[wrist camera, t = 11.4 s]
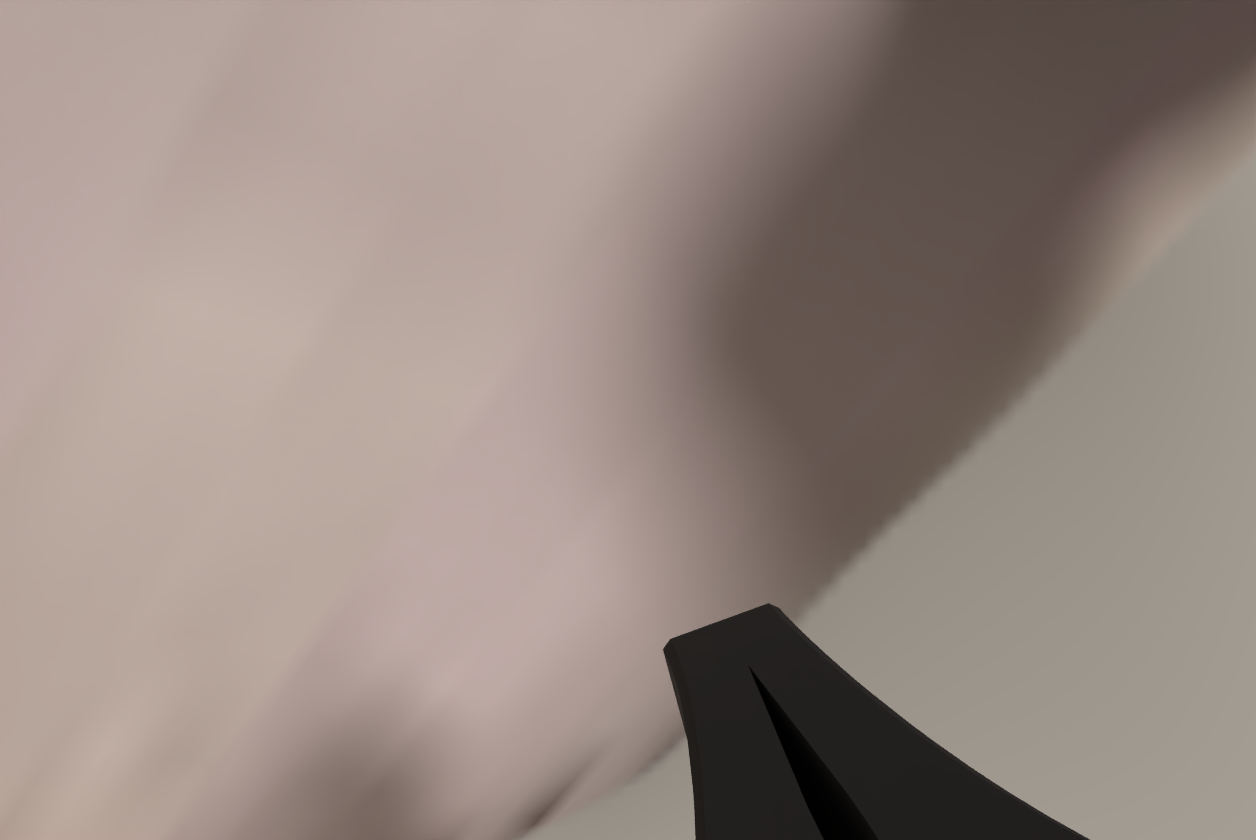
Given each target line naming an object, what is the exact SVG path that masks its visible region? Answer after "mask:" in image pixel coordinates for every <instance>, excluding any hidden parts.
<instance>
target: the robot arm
mask: <svg viewBox="0 0 1256 840" xmlns="http://www.w3.org/2000/svg"><path fill="white" fill-rule="evenodd" d="M663 651H664V655H665V659H666V662H667V666H668V670H669V673H670V677H671V681H672V684H673V688H674V692H675V695H676V699H677V703H678V707H679V710H680V714H681V718H682V721H683V725H684V729H685V732H686V736H687V740H688V748H689V757H690V765H691V774H692V784H693V794H694V809H695V835H696V840H1089V839H1088V838H1086V837H1084V836H1082V835H1081V834H1078V833H1077V832H1075V831H1074V830H1072V829H1070V828H1068V827H1066V826H1065V825H1063V824H1061V823H1059V822H1057V821H1056V820H1054V819H1052V818H1050V817H1049V816H1047V815H1045V814H1044V813H1042V812H1040V811H1039V810H1037V809H1035V808H1034V807H1032V806H1031V805H1029V804H1027V803H1026V802H1024V801H1022V800H1020V799H1019V798H1017V797H1016V796H1014V795H1012V794H1011V793H1009V792H1007V791H1006V790H1004V789H1003V788H1001V787H1000V786H998V785H997V784H995V783H994V782H992V781H990V780H989V779H987V778H986V777H984V776H983V775H981V774H980V773H978V772H977V771H975V770H974V769H972V768H971V767H969V766H968V765H967V764H965V763H964V762H962V761H961V760H960V759H958V758H957V757H955V756H954V755H952V754H951V753H949V752H948V751H947V750H945V749H944V748H942V747H941V746H940V745H938V744H937V743H935V742H934V741H933V740H931V739H930V738H928V737H927V736H926V735H924V734H923V733H922V732H921V731H919V730H918V729H916V728H915V727H914V726H912V725H911V724H910V723H909V722H907V721H906V720H905V719H903V718H902V717H901V716H899V715H898V714H897V713H896V712H895V711H893V710H892V709H891V708H889V707H888V706H887V705H886V704H884V703H883V702H882V701H881V700H879V699H878V698H877V697H876V696H874V695H873V694H872V693H871V692H869V691H868V690H867V689H866V688H865V687H863V686H862V685H861V684H860V683H859V682H857V681H856V680H855V679H854V678H852V677H851V676H850V675H849V674H848V673H847V672H846V671H844V670H843V669H842V668H841V667H840V666H839V665H838V664H837V663H835V662H834V661H833V660H832V659H831V658H830V657H829V656H827V655H826V654H825V653H824V652H823V651H822V650H821V649H820V648H819V647H818V646H817V645H815V644H814V643H813V642H812V641H811V640H810V639H809V638H808V637H807V636H806V635H805V634H804V633H803V632H802V631H801V630H800V629H799V628H798V627H797V626H796V625H795V624H794V623H793V622H792V621H791V620H790V619H789V618H788V617H787V616H786V615H785V614H784V613H783V612H782V611H781V610H780V609H779V608H778V607H776V606H773V605H771V604H769V603H768V604H765V605H763V606H760V607H757V608H754V609H752V610H749V611H746V612H743V613H741V614H738V615H735V616H732V617H730V618H727V619H724V620H721V621H719V622H716V623H713V624H710V625H708V626H705V627H702V628H699V629H697V630H694V631H691V632H688V633H686V634H683V635H680V636H677V637H675V638H672V639H670V640H669V642H668V643H667V645H666V646H665V647H664V649H663Z"/></svg>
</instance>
